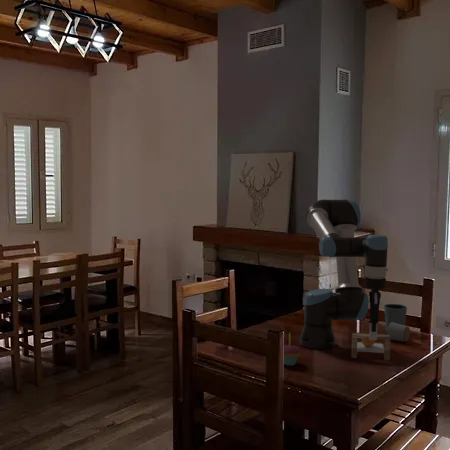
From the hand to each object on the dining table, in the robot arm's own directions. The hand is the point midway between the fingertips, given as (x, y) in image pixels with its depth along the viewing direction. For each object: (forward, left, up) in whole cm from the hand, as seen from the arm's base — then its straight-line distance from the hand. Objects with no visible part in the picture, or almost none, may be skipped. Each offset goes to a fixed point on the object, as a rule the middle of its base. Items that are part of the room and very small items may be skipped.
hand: (373, 339), depth 202 cm
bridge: (0, +12, -11) cm, 17 cm away
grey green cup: (+14, +56, -11) cm, 59 cm away
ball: (0, +28, -8) cm, 29 cm away
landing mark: (0, +26, -11) cm, 29 cm away
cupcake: (-31, -2, -11) cm, 33 cm away
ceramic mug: (+14, +42, -11) cm, 46 cm away
